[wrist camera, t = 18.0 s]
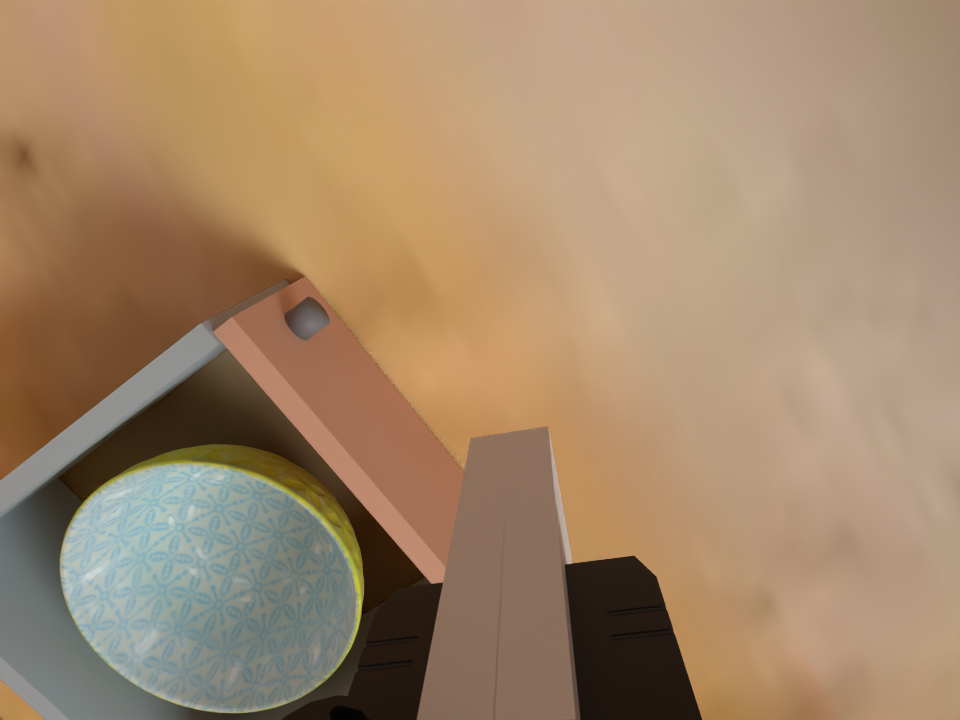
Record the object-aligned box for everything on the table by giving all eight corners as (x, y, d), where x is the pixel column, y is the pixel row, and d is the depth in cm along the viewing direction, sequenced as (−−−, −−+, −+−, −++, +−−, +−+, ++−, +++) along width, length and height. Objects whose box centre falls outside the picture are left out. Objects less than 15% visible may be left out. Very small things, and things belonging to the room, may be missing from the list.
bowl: (403, 608, 31) (377, 714, 25) (176, 615, 32) (99, 719, 26) (374, 391, 27) (337, 453, 22) (122, 404, 28) (19, 468, 22)
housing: (285, 279, 26) (201, 323, 19) (503, 548, 30) (500, 671, 22) (34, 473, 29) (-119, 573, 22) (255, 695, 33) (184, 843, 26)
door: (323, 261, 26) (253, 299, 19) (541, 535, 29) (551, 654, 22) (291, 287, 26) (209, 333, 19) (509, 554, 29) (509, 677, 22)
